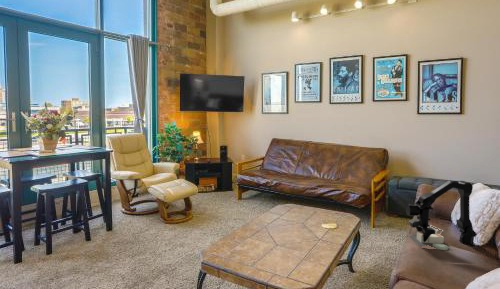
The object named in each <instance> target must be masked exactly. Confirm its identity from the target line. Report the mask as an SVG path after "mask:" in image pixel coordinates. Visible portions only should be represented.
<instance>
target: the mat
mask: <svg viewBox="0 0 500 289" xmlns="http://www.w3.org/2000/svg"><path fill="white" fill-rule="evenodd" d="M408 237H409V238H410V240H412V241H413V242H414V243H416V244H417V245H418V246H419V247H422V246H425V245H426V246H427V245H429V246H431V247H433V246H432V245H433V243H421V242H420V241H418V240H417V239H416V238H417V235H408ZM440 244H444V245H446V244H445V243H444V242H443V243H440ZM437 251H440V250H439V249H438V250H437ZM447 251H452V252H453V249H452V248H450V247H449V249H448V250H447Z"/></svg>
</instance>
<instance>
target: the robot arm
mask: <svg viewBox="0 0 500 289" xmlns="http://www.w3.org/2000/svg"><path fill="white" fill-rule="evenodd" d="M473 188H474V187H473V184H472V183H470V182H467V181H465V180H459V181H458V180H451V179H450V180H446V182H444V183H442V184H441V185H439V186H438V187H436V188H435V189H434V190H431V192H428V193H423V194H422V195H419V197H418V199H417V201H415V203H414V204H409V203H408V204H407V206H406V207H405V213H406V215H407V216H413V217H414V216H415V217H416V218H413V219H410V220H408V224H409V226H410V227H411V228H413V229H414V228H416V232H417V231H421V232H422V233H423V241H424V242H426V240H427V239H428V238H429V236H430V235H431V234H435V232H436V230H434V229H433V228H429V227H430V225H431V224H429V222H430V221H431V218H430V210H432V211H434V208H433V207H432V205H433V204H434V203H436V202H435V201H436V200H437V199H438V198H440V197H441V196H443V195H444V194H445V193H447V192H449V191H450V190H452V189H457V191H458V192H457V193H458V194H459V203H460V204H459V207H460V208H459V209H460V211H459V212H460V216H459V219H456V220H455V221H456V224H455V225H456V227H457V229H458V230H459V232H460V235H459V240H458V241H459V242H460V243H461V244H463V245H465V246H466V245H467V246H472V247H473V246H474V247H475V246H476V244H475V243H474V238H475V237H477V235H478V233H477V232H476V231H475V230H474V228H473V223H472V221H471V219H470V218H471V217H470V196H471V195H472V193H473Z"/></svg>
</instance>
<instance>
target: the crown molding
mask: <svg viewBox="0 0 500 289" xmlns="http://www.w3.org/2000/svg"><path fill="white" fill-rule="evenodd" d="M429 225H430V228H433V227H435V228H438V229H439V230H442V231H439V230H438V229H435V228H433V229H434V230H435V234H438V233H439V232H440V233H439V234H440V235H441V234H442V233H443V232H444V229H441V228H439V227H436V226H434V225H432V224H429ZM431 226H433V227H431Z"/></svg>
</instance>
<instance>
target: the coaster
mask: <svg viewBox="0 0 500 289" xmlns="http://www.w3.org/2000/svg"><path fill="white" fill-rule="evenodd" d="M444 244H445V243H443V244H440V243H433V245H432V246H433V247H434V248H436V249H439V250H438V251H449V250H448V249H449V248H450V247H449V246H448V245H446V244H445V245H444Z"/></svg>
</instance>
